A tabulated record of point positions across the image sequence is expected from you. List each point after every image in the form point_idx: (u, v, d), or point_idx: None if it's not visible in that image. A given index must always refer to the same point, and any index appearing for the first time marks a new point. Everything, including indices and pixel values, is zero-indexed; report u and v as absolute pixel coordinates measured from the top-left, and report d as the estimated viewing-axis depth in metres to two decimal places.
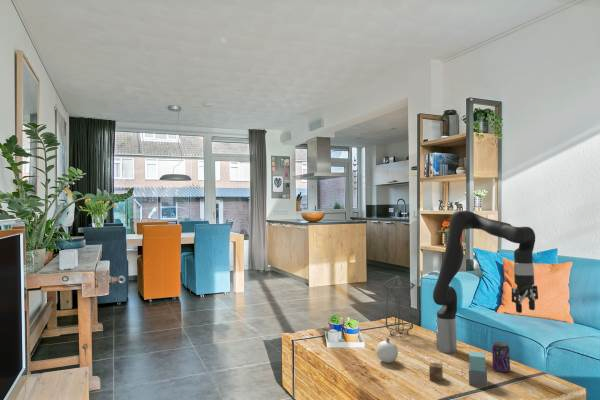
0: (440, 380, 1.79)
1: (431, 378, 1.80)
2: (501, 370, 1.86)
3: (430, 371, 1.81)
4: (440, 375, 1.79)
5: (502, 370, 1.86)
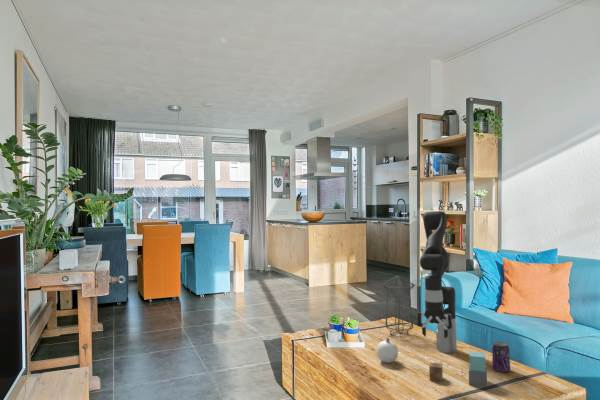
0: (440, 380, 1.79)
1: (431, 378, 1.80)
2: (501, 370, 1.86)
3: (430, 371, 1.81)
4: (440, 375, 1.79)
5: (502, 370, 1.86)
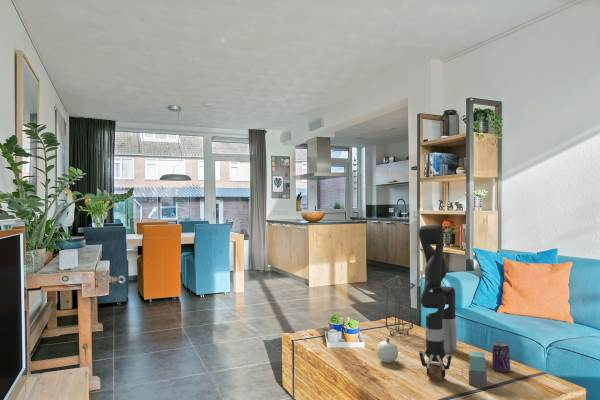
0: (440, 380, 1.79)
1: (431, 378, 1.80)
2: (501, 370, 1.86)
3: (430, 371, 1.81)
4: (440, 375, 1.79)
5: (502, 370, 1.86)
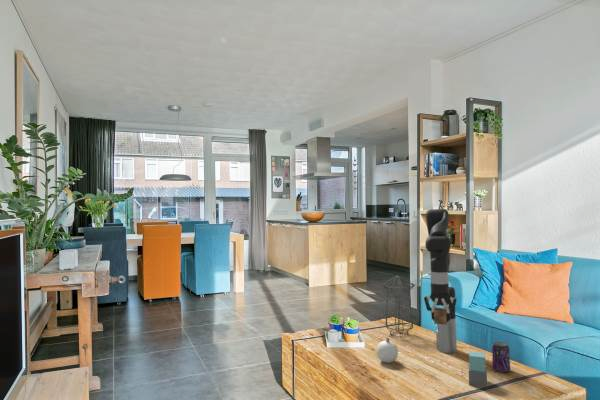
0: (445, 323, 1.79)
1: (436, 321, 1.80)
2: (501, 370, 1.86)
3: (435, 314, 1.81)
4: (445, 318, 1.79)
5: (502, 370, 1.86)
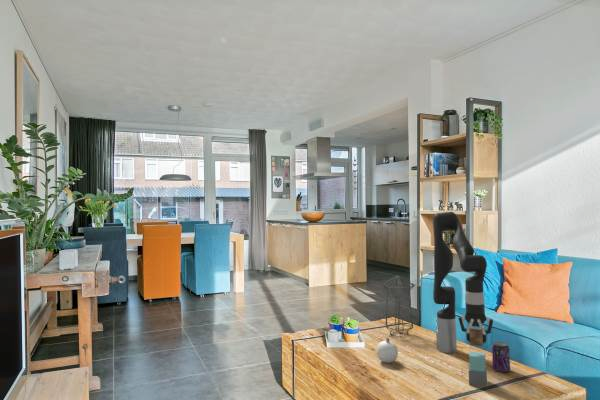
0: (481, 345, 1.74)
1: (471, 343, 1.76)
2: (501, 370, 1.86)
3: (470, 336, 1.76)
4: (481, 339, 1.74)
5: (502, 370, 1.86)
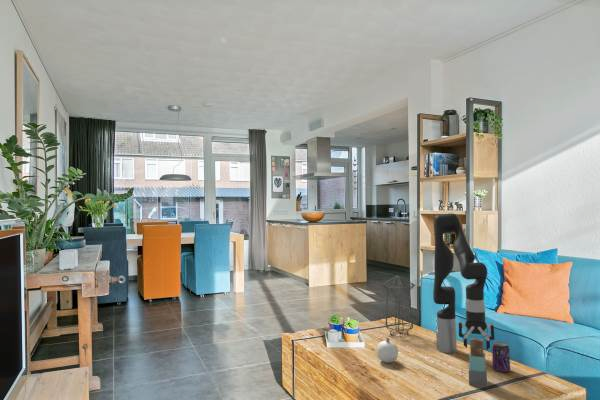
0: (482, 355, 1.74)
1: (472, 353, 1.76)
2: (501, 370, 1.86)
3: (471, 346, 1.76)
4: (482, 350, 1.74)
5: (502, 370, 1.86)
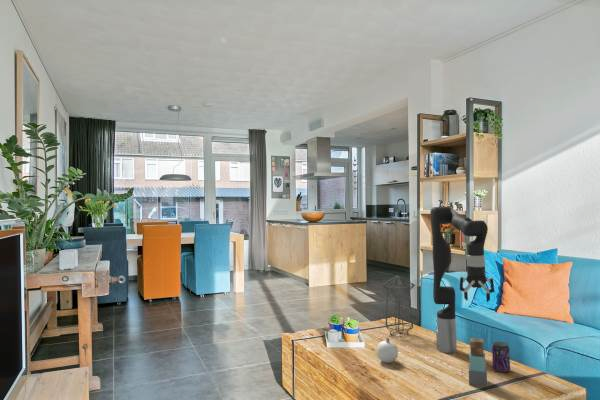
0: (482, 355, 1.74)
1: (472, 353, 1.75)
2: (501, 370, 1.86)
3: (471, 346, 1.76)
4: (482, 350, 1.74)
5: (502, 370, 1.86)
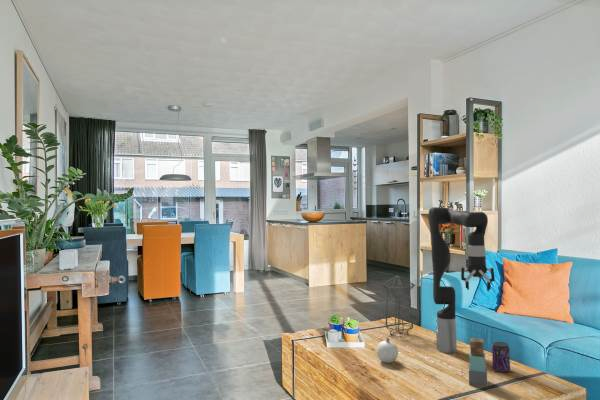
0: (482, 355, 1.74)
1: (472, 353, 1.75)
2: (501, 370, 1.86)
3: (471, 346, 1.76)
4: (482, 350, 1.74)
5: (502, 370, 1.86)
